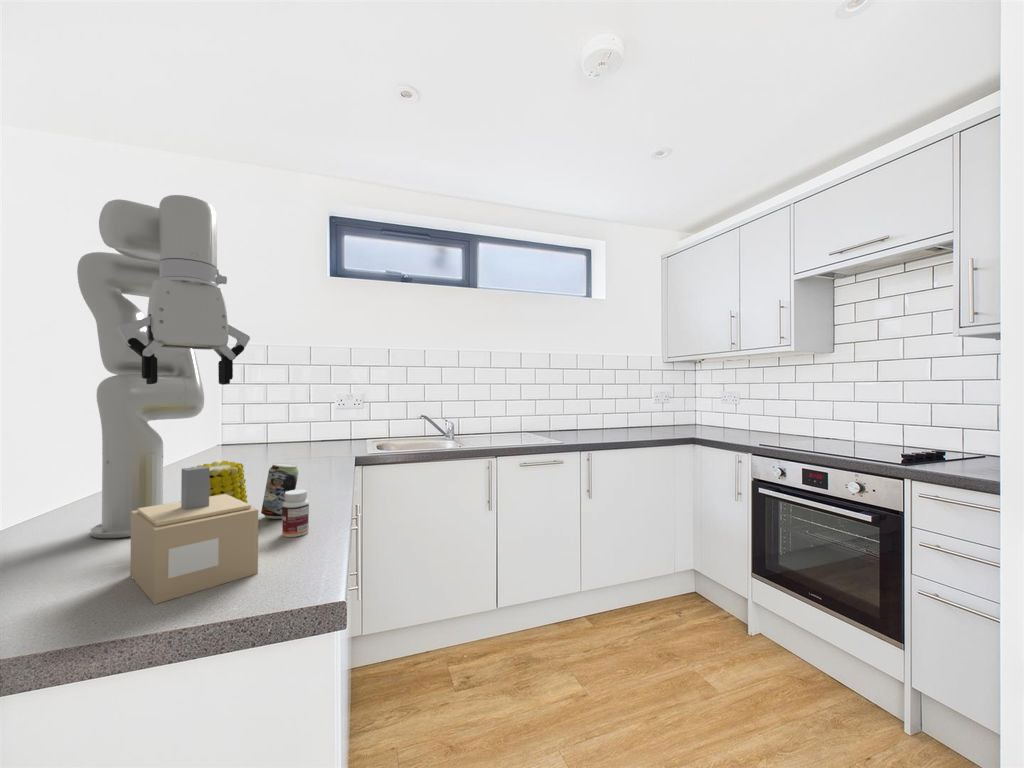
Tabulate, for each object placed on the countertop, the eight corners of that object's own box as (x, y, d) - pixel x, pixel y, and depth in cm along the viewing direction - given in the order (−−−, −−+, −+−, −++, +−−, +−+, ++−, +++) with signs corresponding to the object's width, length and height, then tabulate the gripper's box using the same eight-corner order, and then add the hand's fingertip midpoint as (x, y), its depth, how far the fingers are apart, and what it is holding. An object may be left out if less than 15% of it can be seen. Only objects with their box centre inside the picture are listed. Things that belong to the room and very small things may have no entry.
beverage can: (257, 517, 100) (258, 463, 100) (292, 510, 105) (293, 460, 105) (265, 523, 95) (266, 467, 95) (301, 516, 100) (302, 463, 100)
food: (257, 538, 90) (200, 556, 82) (229, 516, 97) (174, 530, 88) (263, 468, 88) (205, 479, 80) (234, 449, 94) (178, 458, 86)
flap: (137, 511, 68) (137, 469, 68) (225, 496, 78) (226, 459, 78) (156, 526, 61) (157, 479, 61) (251, 508, 71) (251, 467, 71)
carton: (130, 575, 69) (130, 510, 69) (225, 551, 79) (225, 494, 79) (154, 604, 60) (155, 529, 60) (258, 573, 70) (258, 509, 70)
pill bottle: (283, 531, 90) (283, 490, 90) (309, 528, 92) (309, 488, 92) (280, 539, 86) (281, 495, 86) (308, 536, 88) (308, 493, 88)
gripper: (239, 290, 80) (240, 385, 80) (112, 271, 67) (112, 384, 66) (256, 282, 76) (258, 383, 75) (123, 260, 62) (124, 382, 62)
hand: (189, 383), depth 71 cm, fingers open, 9 cm apart
